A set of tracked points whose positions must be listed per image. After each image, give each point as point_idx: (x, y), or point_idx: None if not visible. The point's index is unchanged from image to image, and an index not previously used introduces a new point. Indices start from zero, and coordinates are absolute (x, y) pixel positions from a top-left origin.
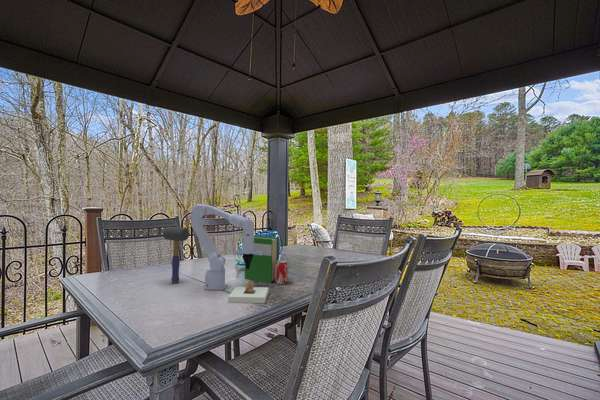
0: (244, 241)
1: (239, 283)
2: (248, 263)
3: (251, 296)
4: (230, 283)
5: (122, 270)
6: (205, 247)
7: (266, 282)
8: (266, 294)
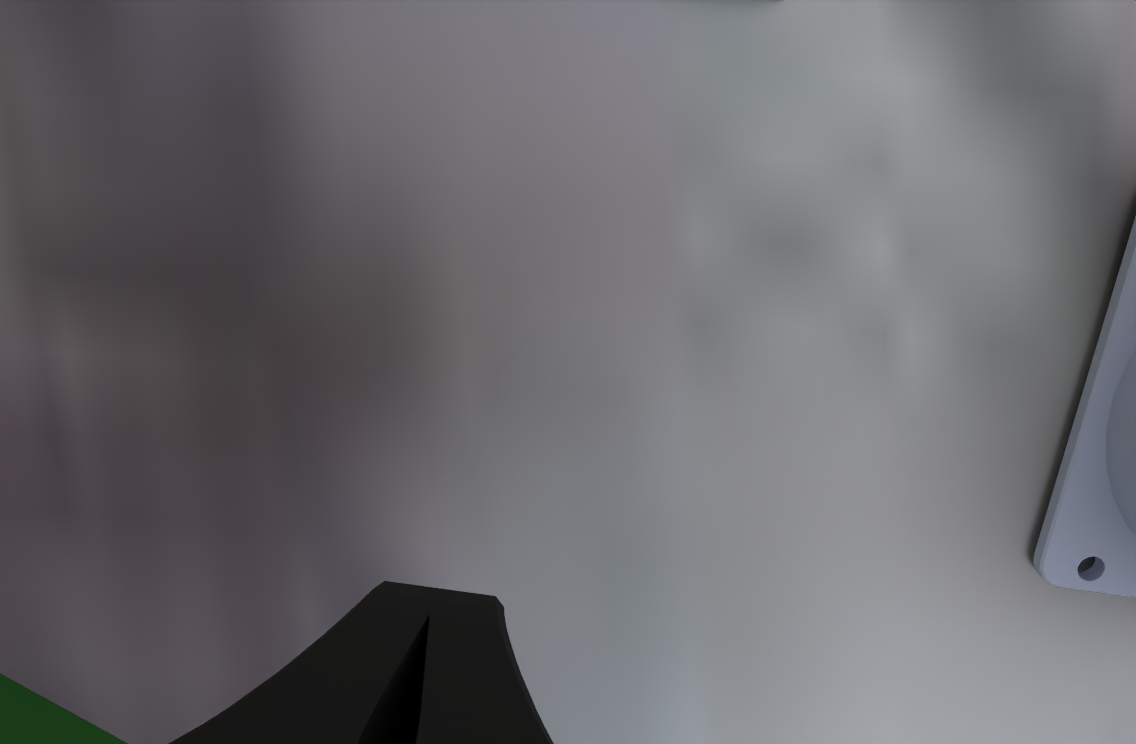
0: None
1: (721, 697)
2: (315, 708)
3: None
4: (946, 713)
5: None
6: None
7: (38, 702)
8: None
